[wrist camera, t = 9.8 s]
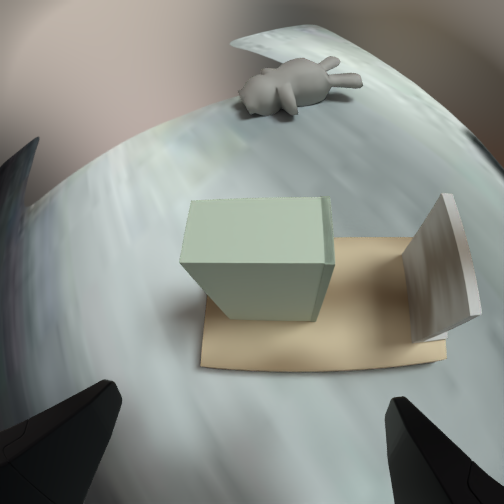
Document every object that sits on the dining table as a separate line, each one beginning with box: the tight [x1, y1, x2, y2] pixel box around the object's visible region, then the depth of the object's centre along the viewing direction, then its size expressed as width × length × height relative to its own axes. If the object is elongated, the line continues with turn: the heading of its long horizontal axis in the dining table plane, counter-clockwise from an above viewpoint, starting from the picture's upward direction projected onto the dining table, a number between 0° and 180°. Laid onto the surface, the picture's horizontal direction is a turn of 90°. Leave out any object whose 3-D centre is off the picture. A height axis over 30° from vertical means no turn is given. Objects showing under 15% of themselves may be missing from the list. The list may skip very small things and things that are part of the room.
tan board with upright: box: [200, 193, 482, 372], centre depth 17 cm, size 10×18×10 cm, turn 87°
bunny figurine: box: [238, 56, 363, 116], centre depth 32 cm, size 10×5×15 cm
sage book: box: [179, 196, 335, 322], centre depth 16 cm, size 3×6×10 cm, turn 87°
